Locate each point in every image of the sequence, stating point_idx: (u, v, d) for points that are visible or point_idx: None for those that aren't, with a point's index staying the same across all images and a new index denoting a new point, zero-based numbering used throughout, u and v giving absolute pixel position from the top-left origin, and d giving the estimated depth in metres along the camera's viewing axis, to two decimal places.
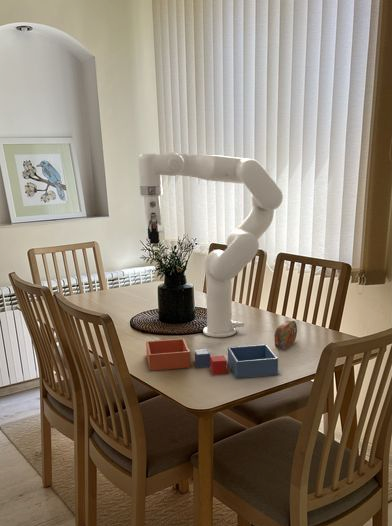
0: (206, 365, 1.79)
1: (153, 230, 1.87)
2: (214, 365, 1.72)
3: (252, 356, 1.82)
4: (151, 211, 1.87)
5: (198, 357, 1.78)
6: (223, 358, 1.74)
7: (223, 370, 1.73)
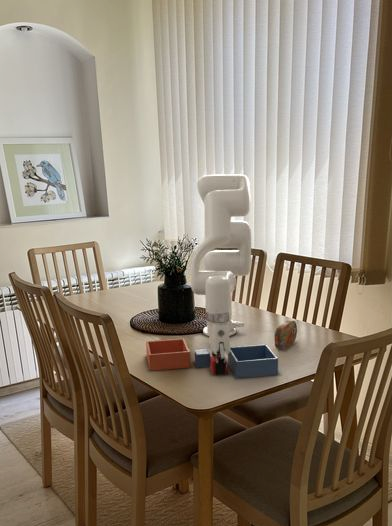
0: (206, 365, 1.79)
1: (220, 362, 1.70)
2: (214, 365, 1.72)
3: (252, 356, 1.82)
4: (220, 340, 1.66)
5: (198, 357, 1.78)
6: None
7: None
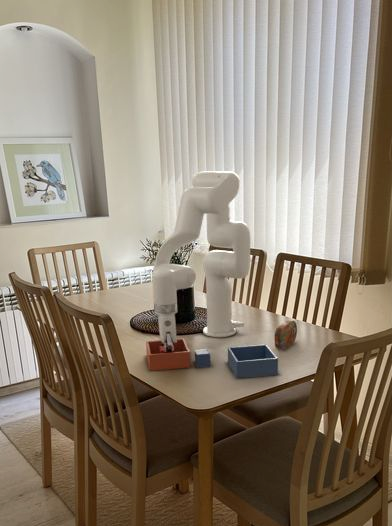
0: (206, 365, 1.79)
1: (168, 351, 1.77)
2: None
3: (252, 356, 1.82)
4: (166, 330, 1.75)
5: (198, 357, 1.78)
6: None
7: None
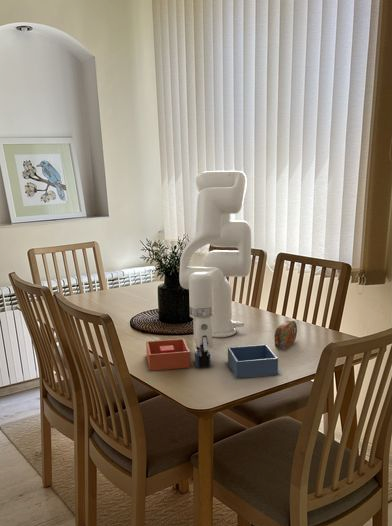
0: None
1: (203, 355, 1.76)
2: None
3: (252, 356, 1.82)
4: (203, 334, 1.72)
5: (198, 357, 1.78)
6: (171, 348, 1.82)
7: None
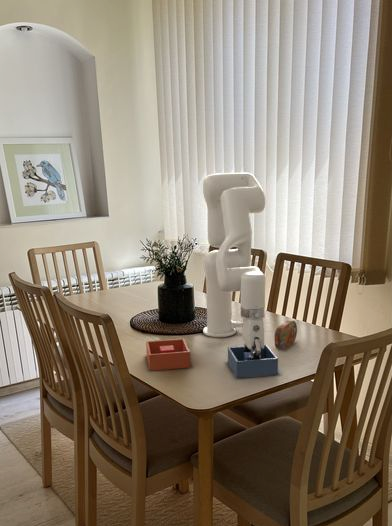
0: None
1: (255, 357, 1.70)
2: None
3: None
4: (255, 335, 1.68)
5: None
6: (171, 348, 1.82)
7: None
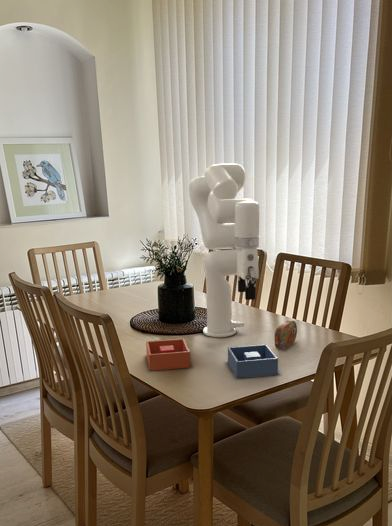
0: None
1: (250, 286, 1.69)
2: None
3: None
4: (249, 264, 1.68)
5: None
6: (171, 348, 1.82)
7: None
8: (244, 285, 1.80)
